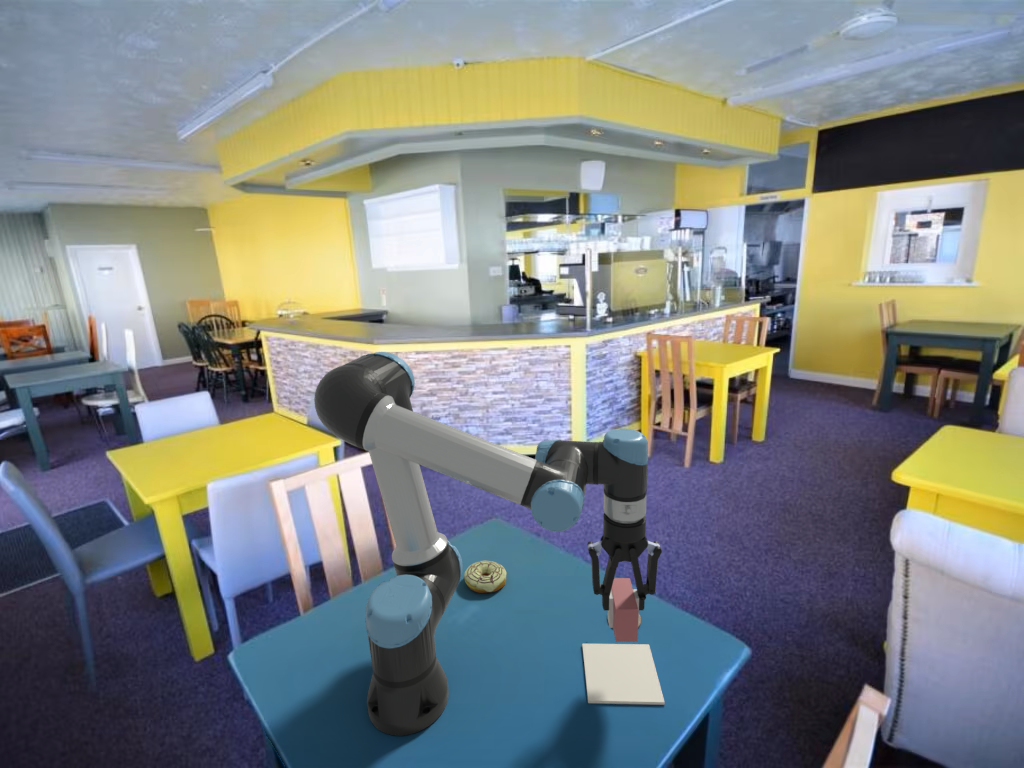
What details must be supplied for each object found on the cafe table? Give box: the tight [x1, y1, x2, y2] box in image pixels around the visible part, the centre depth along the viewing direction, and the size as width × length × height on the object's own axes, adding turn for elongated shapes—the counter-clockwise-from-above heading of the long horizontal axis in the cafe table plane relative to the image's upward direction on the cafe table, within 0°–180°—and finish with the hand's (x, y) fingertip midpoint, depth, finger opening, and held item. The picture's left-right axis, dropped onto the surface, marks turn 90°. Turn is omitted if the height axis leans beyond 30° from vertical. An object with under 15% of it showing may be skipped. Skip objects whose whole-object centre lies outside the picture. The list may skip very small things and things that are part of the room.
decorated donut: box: [463, 560, 507, 594], centre depth 129 cm, size 10×11×4 cm
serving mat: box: [581, 643, 665, 706], centre depth 100 cm, size 14×14×1 cm
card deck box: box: [612, 577, 639, 643], centre depth 96 cm, size 9×4×7 cm, turn 177°
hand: (622, 622), depth 97 cm, fingers closed on card deck box, 4 cm apart
